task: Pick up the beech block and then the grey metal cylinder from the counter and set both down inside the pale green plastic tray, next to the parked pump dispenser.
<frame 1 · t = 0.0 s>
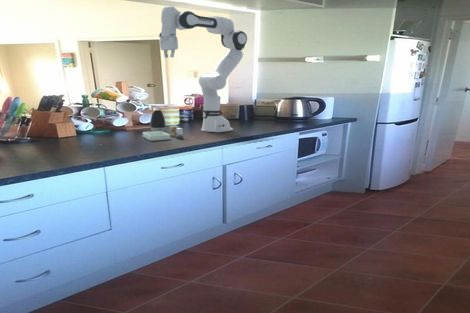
hand: (169, 57, 227), 48 cm above the countertop, fingers open, 8 cm apart
beech block: (173, 135, 230), on the countertop
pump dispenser: (158, 132, 242), on the countertop
metal cylinder: (179, 138, 222), on the countertop
tray: (156, 138, 220), on the countertop
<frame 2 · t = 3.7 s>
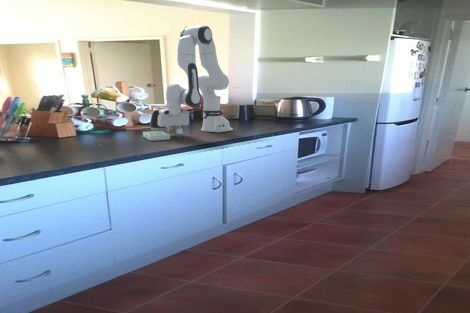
hand: (173, 132, 229), 2 cm above the countertop, fingers closed on beech block, 4 cm apart
beech block: (173, 135, 230), on the countertop, touching gripper
everything else where it was.
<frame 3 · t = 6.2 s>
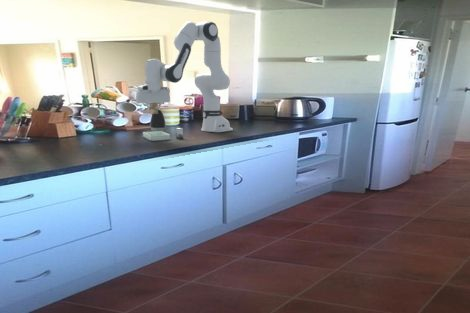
hand: (153, 110, 219), 17 cm above the countertop, fingers closed on beech block, 4 cm apart
beech block: (153, 113, 219), point 15 cm above the countertop, touching gripper
everything else where it was.
when the fingers open (5 cm above the countertop, at t = 8.6 s): beech block drops 2 cm, resting on tray.
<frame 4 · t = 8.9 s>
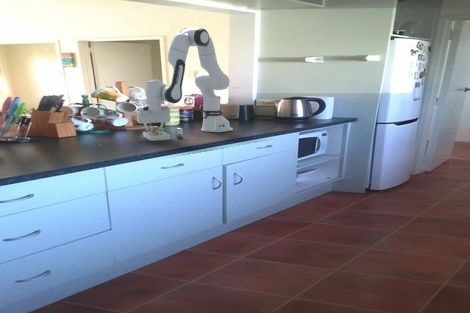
hand: (154, 129, 221), 5 cm above the countertop, fingers open, 7 cm apart
beech block: (154, 136, 222), resting on tray
everything else where it was.
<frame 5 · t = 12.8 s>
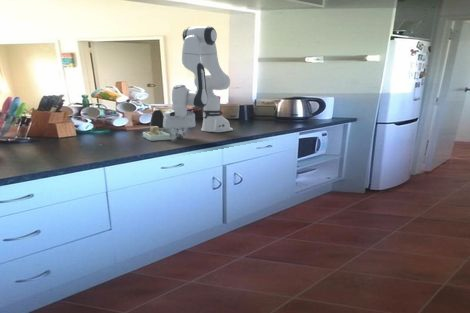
hand: (179, 135, 222), 2 cm above the countertop, fingers closed on metal cylinder, 4 cm apart
metal cylinder: (179, 138, 222), on the countertop, touching gripper
everything else where it was.
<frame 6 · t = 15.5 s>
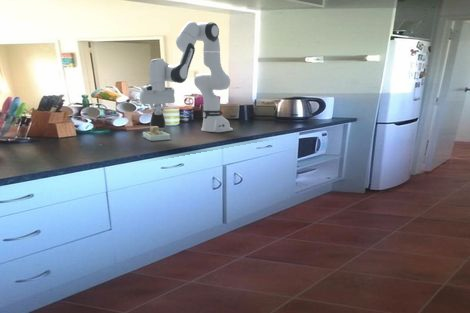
hand: (157, 111, 213), 17 cm above the countertop, fingers closed on metal cylinder, 4 cm apart
metal cylinder: (158, 114, 213), point 15 cm above the countertop, touching gripper
everything else where it was.
when the fingers open (5 cm above the countertop, at t = 17.9 s): metal cylinder drops 2 cm, resting on tray.
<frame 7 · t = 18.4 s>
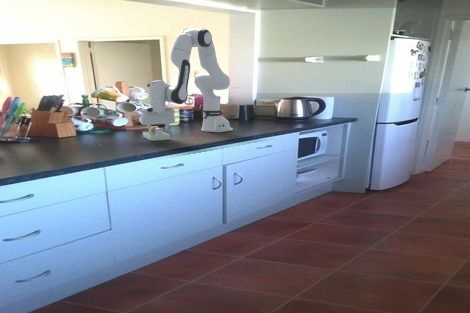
hand: (158, 131, 216), 5 cm above the countertop, fingers open, 8 cm apart
metal cylinder: (158, 138, 217), resting on tray
everything else where it was.
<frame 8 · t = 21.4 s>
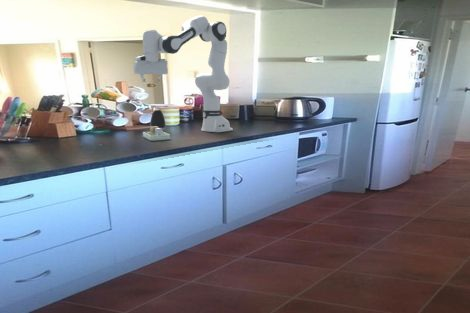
hand: (151, 81, 220), 33 cm above the countertop, fingers open, 8 cm apart
nothing on the countertop moved.
at the end: beech block inside the target area on the tray (3.4 cm from its centre), point 0.5 cm above the tray's base; metal cylinder inside the target area on the tray (3.5 cm from its centre), point 0.5 cm above the tray's base; metal cylinder tilted 0° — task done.
